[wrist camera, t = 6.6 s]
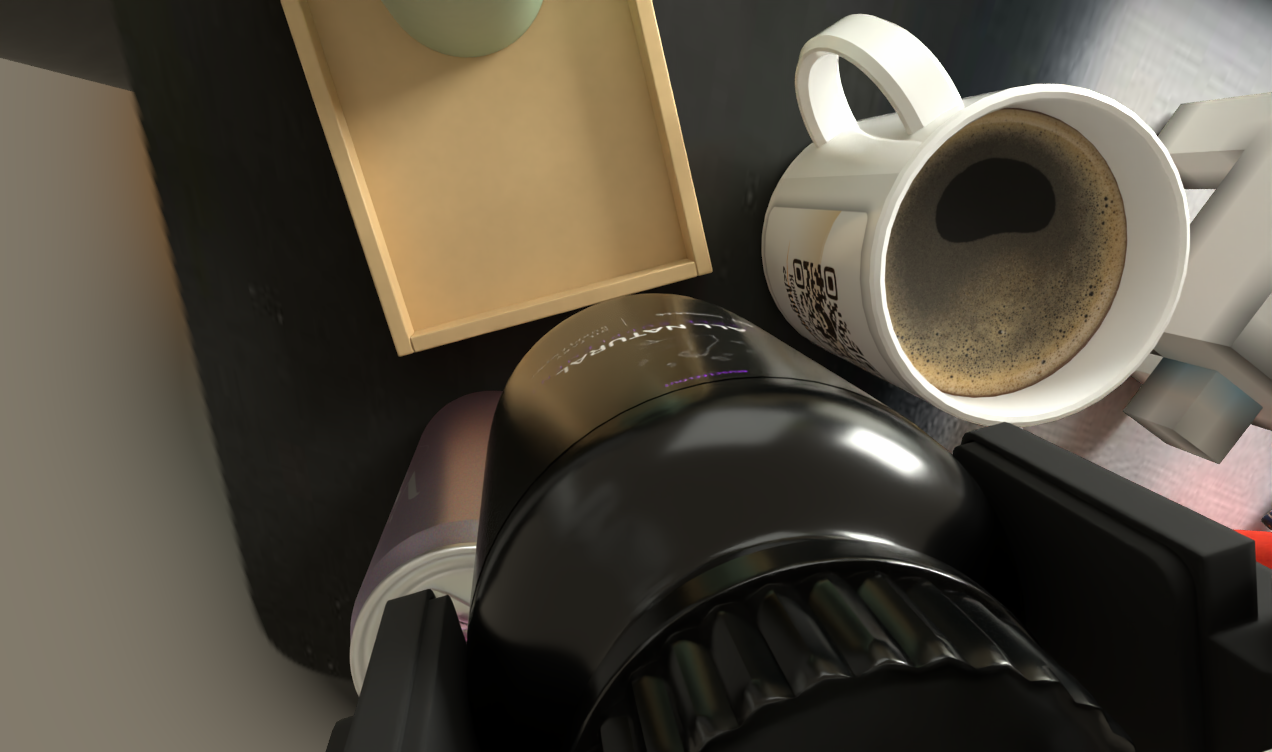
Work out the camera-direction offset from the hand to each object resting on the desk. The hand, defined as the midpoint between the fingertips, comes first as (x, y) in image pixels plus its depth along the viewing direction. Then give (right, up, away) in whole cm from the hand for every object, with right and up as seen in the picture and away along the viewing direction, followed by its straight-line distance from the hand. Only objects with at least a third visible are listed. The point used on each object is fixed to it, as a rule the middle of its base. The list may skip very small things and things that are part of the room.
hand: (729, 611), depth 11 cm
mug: (+8, +10, +23) cm, 26 cm away
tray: (-7, +18, +19) cm, 27 cm away
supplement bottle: (-1, +2, +7) cm, 7 cm away
